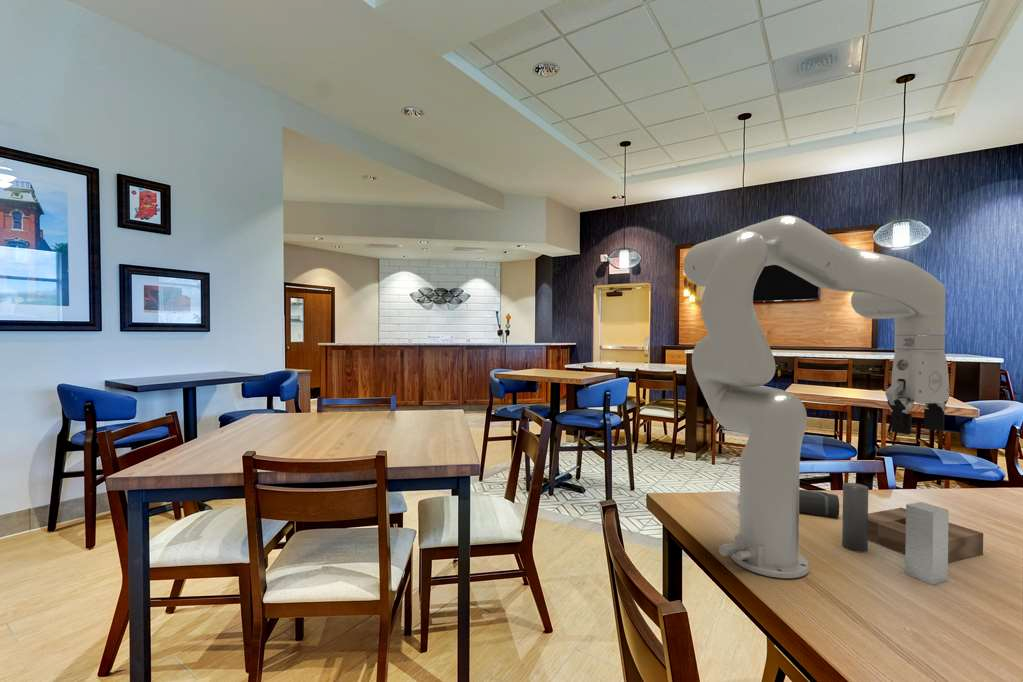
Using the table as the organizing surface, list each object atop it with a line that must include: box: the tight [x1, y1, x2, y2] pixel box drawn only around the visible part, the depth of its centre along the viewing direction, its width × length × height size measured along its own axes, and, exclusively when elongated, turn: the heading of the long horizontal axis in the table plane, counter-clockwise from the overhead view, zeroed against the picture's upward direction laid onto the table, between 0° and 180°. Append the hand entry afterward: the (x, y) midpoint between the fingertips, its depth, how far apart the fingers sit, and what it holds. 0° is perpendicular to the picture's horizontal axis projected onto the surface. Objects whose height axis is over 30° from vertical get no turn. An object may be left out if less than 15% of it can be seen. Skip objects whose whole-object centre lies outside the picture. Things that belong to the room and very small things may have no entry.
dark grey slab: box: [799, 488, 840, 518], centre depth 110 cm, size 5×19×20 cm
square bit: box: [904, 501, 950, 586], centre depth 81 cm, size 4×4×12 cm
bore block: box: [868, 507, 984, 564], centre depth 94 cm, size 14×14×4 cm
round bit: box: [841, 482, 869, 553], centre depth 92 cm, size 4×4×12 cm
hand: (917, 431), depth 94 cm, fingers open, 9 cm apart
